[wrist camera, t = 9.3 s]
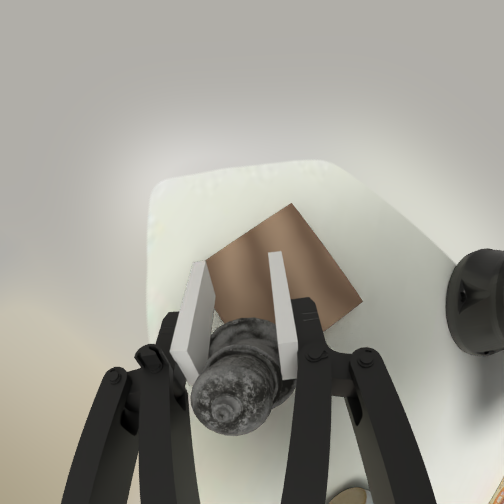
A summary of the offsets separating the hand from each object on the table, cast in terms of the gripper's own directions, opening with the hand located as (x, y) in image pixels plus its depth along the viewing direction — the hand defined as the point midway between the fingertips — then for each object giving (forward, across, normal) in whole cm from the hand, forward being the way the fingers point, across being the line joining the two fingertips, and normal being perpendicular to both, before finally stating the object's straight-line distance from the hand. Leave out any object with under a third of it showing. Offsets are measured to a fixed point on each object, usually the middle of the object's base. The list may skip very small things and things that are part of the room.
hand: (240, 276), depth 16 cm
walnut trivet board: (+12, +2, -11) cm, 16 cm away
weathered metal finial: (-1, 0, -6) cm, 6 cm away
